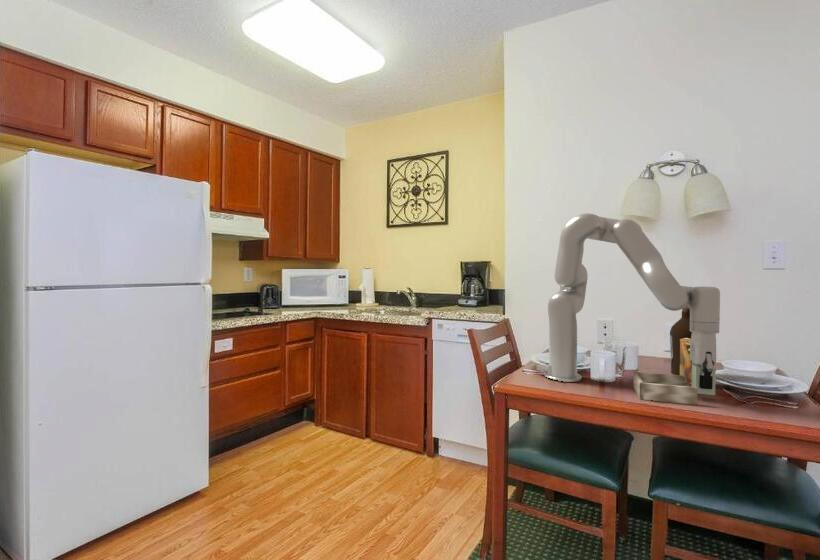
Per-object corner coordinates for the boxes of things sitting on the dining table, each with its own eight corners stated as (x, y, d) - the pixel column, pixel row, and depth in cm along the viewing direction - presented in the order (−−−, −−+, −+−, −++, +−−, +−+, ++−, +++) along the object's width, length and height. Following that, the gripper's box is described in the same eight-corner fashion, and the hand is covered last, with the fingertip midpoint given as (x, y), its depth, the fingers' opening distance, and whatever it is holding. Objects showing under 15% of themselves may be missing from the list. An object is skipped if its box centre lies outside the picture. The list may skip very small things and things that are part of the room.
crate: (639, 399, 132) (639, 383, 132) (633, 386, 146) (633, 371, 146) (697, 404, 127) (697, 387, 126) (684, 390, 141) (684, 375, 140)
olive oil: (705, 374, 161) (707, 307, 161) (698, 379, 154) (700, 310, 153) (673, 369, 169) (674, 305, 168) (665, 374, 162) (666, 307, 161)
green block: (695, 393, 131) (696, 367, 131) (691, 388, 136) (691, 363, 135) (715, 395, 129) (715, 368, 129) (710, 390, 134) (710, 364, 133)
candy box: (712, 386, 146) (713, 341, 145) (707, 388, 144) (708, 342, 143) (684, 380, 153) (685, 337, 153) (678, 382, 151) (679, 338, 150)
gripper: (683, 323, 141) (682, 378, 142) (697, 330, 125) (696, 392, 126) (710, 324, 138) (709, 380, 139) (728, 331, 122) (726, 395, 123)
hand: (703, 385), depth 132 cm, fingers closed on green block, 5 cm apart
